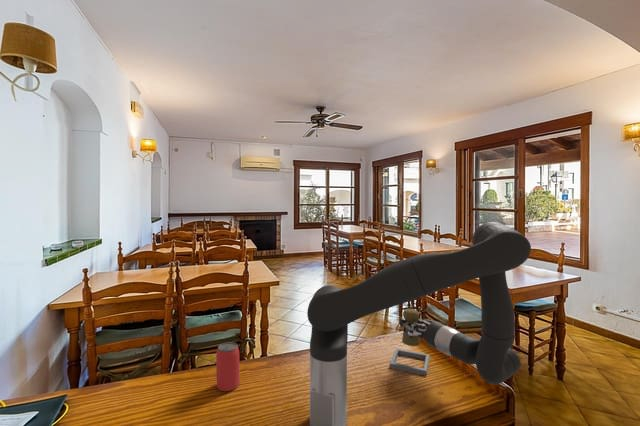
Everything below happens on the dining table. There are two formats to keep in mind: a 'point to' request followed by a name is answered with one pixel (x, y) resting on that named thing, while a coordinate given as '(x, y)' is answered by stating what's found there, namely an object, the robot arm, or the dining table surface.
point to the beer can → (227, 366)
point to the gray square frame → (406, 367)
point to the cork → (411, 317)
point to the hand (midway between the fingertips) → (405, 320)
